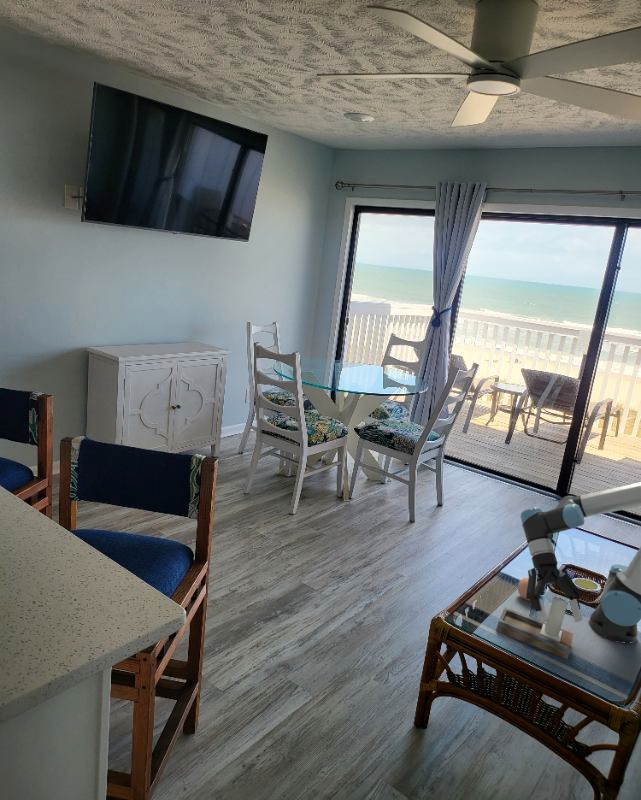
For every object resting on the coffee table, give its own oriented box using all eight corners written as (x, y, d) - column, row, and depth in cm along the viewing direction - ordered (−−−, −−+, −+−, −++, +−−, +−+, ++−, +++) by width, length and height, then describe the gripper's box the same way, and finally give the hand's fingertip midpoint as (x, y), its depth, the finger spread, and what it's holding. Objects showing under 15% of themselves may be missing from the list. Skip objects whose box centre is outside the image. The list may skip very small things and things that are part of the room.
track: (570, 643, 197) (573, 632, 197) (567, 659, 188) (570, 647, 187) (502, 616, 207) (505, 605, 206) (496, 630, 197) (499, 619, 196)
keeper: (561, 635, 197) (571, 600, 194) (558, 645, 190) (569, 609, 188) (542, 627, 199) (551, 593, 197) (539, 637, 193) (549, 601, 190)
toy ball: (542, 604, 220) (547, 584, 219) (524, 605, 218) (529, 584, 216) (528, 593, 228) (533, 573, 226) (511, 593, 225) (516, 573, 224)
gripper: (565, 558, 209) (584, 623, 199) (504, 557, 201) (521, 625, 190) (580, 552, 204) (601, 618, 193) (518, 550, 195) (536, 619, 184)
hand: (561, 621), depth 191 cm, fingers open, 13 cm apart
